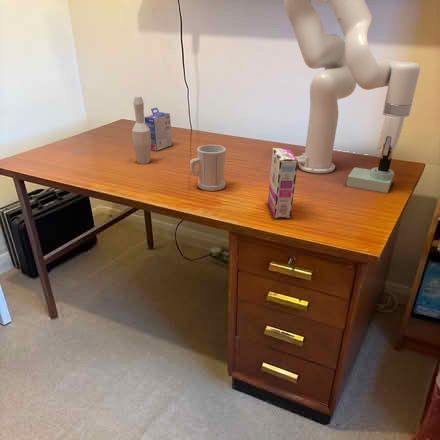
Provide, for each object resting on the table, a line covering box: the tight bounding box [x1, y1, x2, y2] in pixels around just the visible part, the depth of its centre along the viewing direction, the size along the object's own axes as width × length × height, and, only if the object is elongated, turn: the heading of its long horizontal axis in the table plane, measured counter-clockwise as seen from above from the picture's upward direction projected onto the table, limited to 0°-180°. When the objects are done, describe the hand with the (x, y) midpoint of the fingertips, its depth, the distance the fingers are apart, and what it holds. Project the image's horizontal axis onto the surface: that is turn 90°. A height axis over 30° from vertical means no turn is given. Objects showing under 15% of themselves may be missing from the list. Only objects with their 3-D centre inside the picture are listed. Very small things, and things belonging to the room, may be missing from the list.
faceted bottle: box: [131, 95, 152, 165], centre depth 153 cm, size 6×6×22 cm
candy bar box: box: [267, 147, 299, 219], centre depth 120 cm, size 11×5×16 cm, turn 5°
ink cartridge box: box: [144, 107, 173, 152], centre depth 170 cm, size 10×6×14 cm, turn 148°
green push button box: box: [345, 166, 395, 194], centre depth 141 cm, size 13×10×5 cm
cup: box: [189, 144, 227, 192], centre depth 136 cm, size 10×9×12 cm
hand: (383, 170), depth 139 cm, fingers closed
